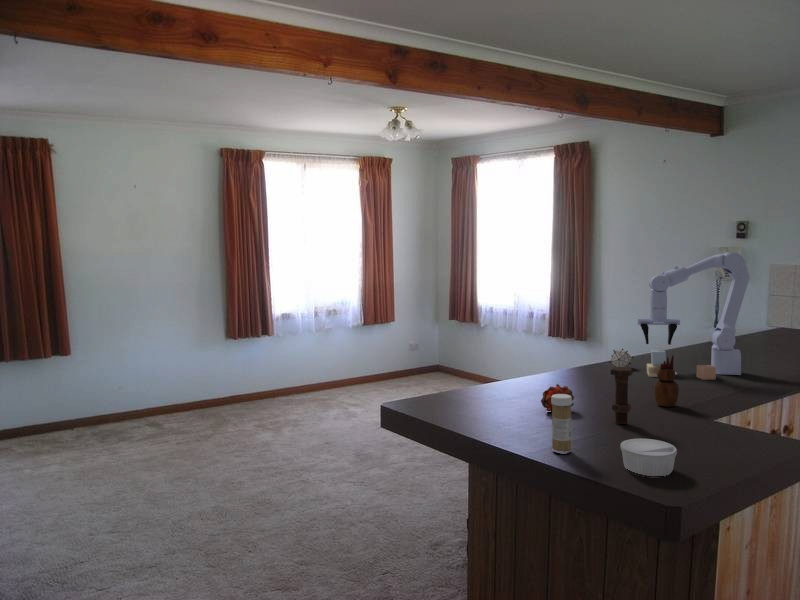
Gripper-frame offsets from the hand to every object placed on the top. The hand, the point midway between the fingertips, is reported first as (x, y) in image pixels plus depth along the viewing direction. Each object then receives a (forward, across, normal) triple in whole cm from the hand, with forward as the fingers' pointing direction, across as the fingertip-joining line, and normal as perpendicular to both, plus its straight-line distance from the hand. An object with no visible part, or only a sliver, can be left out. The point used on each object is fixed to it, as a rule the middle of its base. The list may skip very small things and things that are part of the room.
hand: (658, 344), depth 233 cm
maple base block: (+10, -1, -10) cm, 14 cm away
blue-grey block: (+6, -1, -9) cm, 11 cm away
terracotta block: (+10, +14, -13) cm, 22 cm away
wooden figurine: (+11, -4, -52) cm, 53 cm away
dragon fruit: (+11, -35, -65) cm, 75 cm away
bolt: (+11, -18, -74) cm, 77 cm away
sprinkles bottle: (+11, -33, -101) cm, 107 cm away
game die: (+11, -13, +1) cm, 17 cm away
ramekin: (+11, -15, -109) cm, 111 cm away
